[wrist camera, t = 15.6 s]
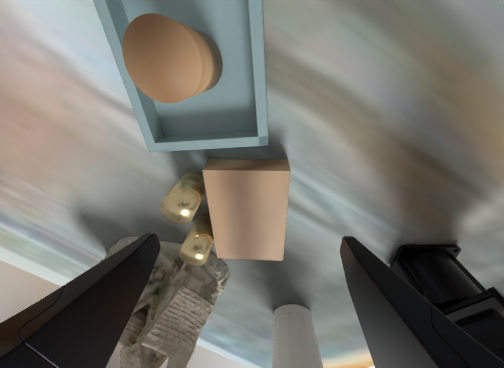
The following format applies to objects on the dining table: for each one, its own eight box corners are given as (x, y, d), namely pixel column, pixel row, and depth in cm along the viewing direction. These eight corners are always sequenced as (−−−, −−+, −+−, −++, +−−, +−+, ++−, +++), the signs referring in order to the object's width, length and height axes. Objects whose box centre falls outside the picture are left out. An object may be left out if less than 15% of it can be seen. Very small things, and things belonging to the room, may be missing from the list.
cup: (263, 304, 33) (261, 410, 23) (311, 299, 32) (331, 411, 21) (275, 327, 37) (278, 427, 27) (319, 324, 35) (340, 429, 25)
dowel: (217, 27, 14) (186, 7, 9) (226, 88, 16) (205, 100, 11) (165, 35, 15) (108, 19, 10) (180, 93, 17) (140, 106, 12)
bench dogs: (205, 170, 21) (189, 196, 17) (219, 232, 26) (210, 265, 21) (178, 171, 21) (155, 197, 17) (197, 232, 26) (183, 265, 22)
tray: (259, -63, 12) (257, -90, 10) (268, 136, 19) (268, 145, 17) (103, -36, 13) (72, -55, 11) (162, 143, 20) (149, 152, 18)
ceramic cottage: (243, 282, 31) (212, 436, 18) (168, 302, 36) (104, 428, 23) (178, 206, 25) (64, 348, 12) (102, 244, 31) (-30, 367, 18)
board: (287, 157, 20) (290, 171, 18) (281, 241, 26) (282, 260, 24) (210, 157, 21) (202, 170, 18) (222, 239, 27) (217, 257, 24)
